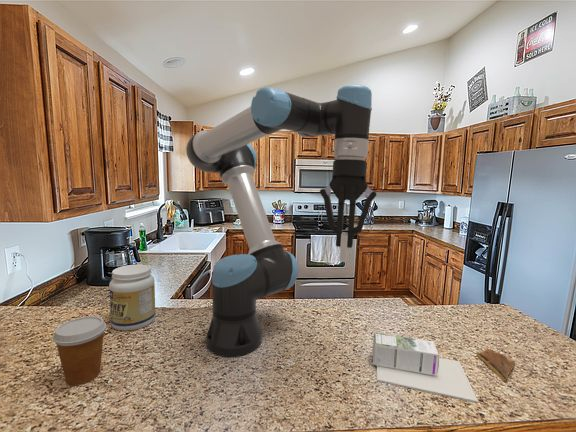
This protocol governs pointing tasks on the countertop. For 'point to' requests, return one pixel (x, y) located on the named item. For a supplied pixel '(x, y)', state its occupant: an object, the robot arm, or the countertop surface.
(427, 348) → the syrup box
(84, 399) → the countertop surface
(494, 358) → the shard
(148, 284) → the supplement tub
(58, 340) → the disposable coffee cup
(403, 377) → the mat
